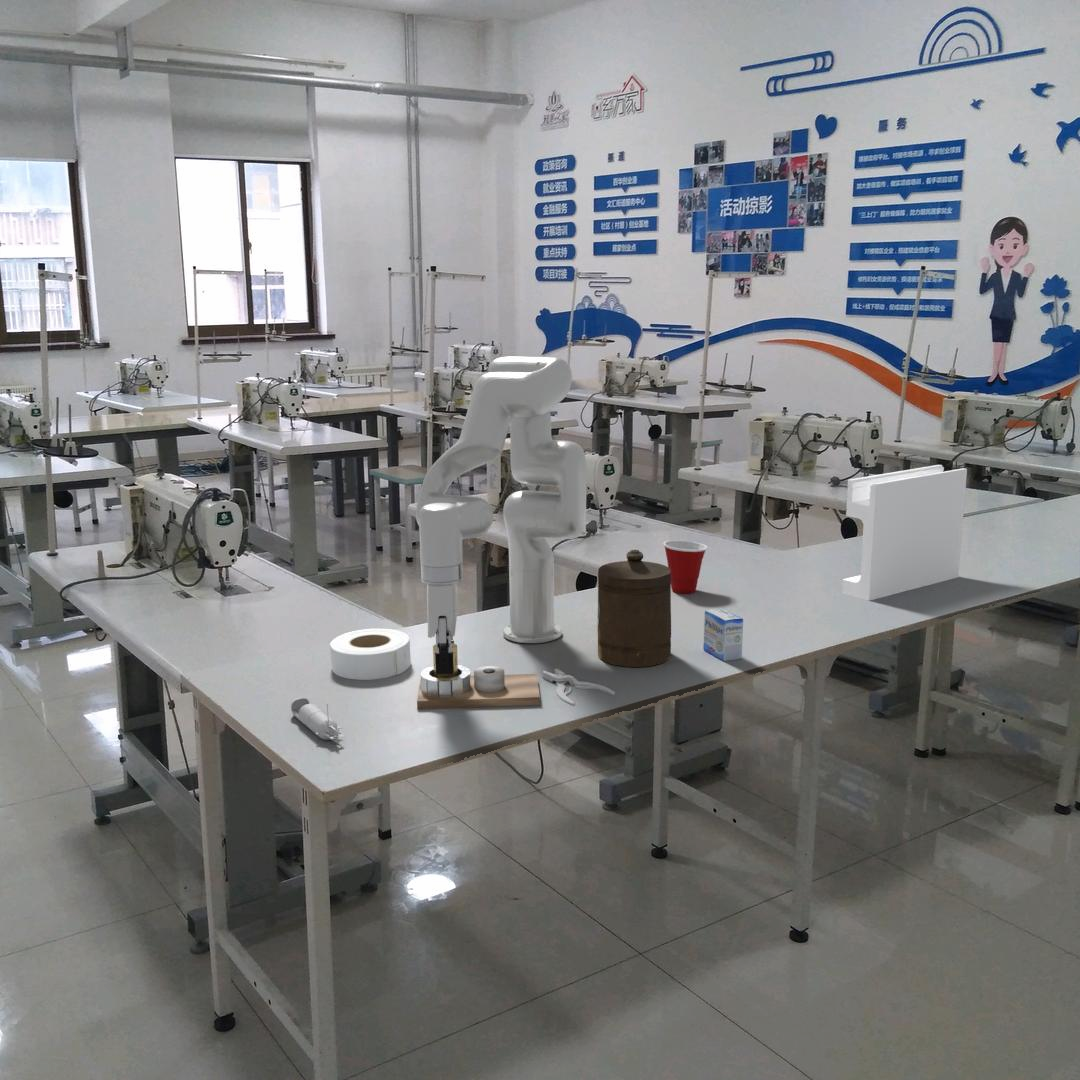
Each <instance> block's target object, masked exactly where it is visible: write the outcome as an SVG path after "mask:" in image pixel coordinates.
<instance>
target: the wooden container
mask: <svg viewBox="0 0 1080 1080" xmlns="http://www.w3.org/2000/svg"><path fill="white" fill-rule="evenodd" d="M625 556H626V559H627V560H621V561H612V562H609V563H606V564H603V565H601V566H599V568H598V571H597V572H598V574H597V583H598V584H597V585H598V586H597V624H596V625H597V626H596V627H597V656H598V658H599V659H600V660H601V661H603V662H605V663H608V664H610V665H614V666H618V667H624V668H645V667H646V668H647V667H652V666H653V667H654V666H657V665H661V664H663V663H665V662H667V661H669V659H671V654H672V653H671V652H672V649H671V648H672V641H671V640H672V608H671V607H672V603H671V602H672V600H671V599H672V598H671V597H672V596H671V595H672V593H671V590H672V588H671V571H670V569H669V568H668V565H664V564H661V563H657V562H652V561H643V559H644V553H643V552H642V551H640V550H639V549H631V550H629V551H628V552H627V553H626V555H625Z"/></svg>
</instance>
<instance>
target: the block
mask: <svg viewBox="0 0 1080 1080" xmlns="http://www.w3.org/2000/svg"><path fill="white" fill-rule="evenodd" d="M944 469H945V467H944V466H943V465H942V464H935V465H928V466H922V467H917V468H911V469H906V470H898V471H894V472H886V473H882V474H881V473H880V474H875V475H869V476H863V477H855V478H849V479H848V480H847V488H846V489H847V492H846V497H847V498H846V508H845V509H846V511H845V516H846V517H849V518H856V519H859V520H860V522H862V524H863V526H862V545H861V562H860V563H861V564H860V574H859V575H855V576H851V577H847V578H844V579H842V584H841V585H842V586H841V588H842V589H841V594H844V595H847V596H851V597H854V598H858V599H861V600H865V601H869V602H871V601H874V600H876V599H881V598H885V597H889V596H891V595H892V596H893V595H896V594H900V593H904V592H906V591H907V592H908V591H911V590H916V589H918V588H923V587H926V586H929V585H930V586H931V585H934V584H938V583H942V582H945V581H950V580H953V579H957V578H959V575H960V562H961V550H962V549H961V548H962V540H963V539H962V537H963V527H964V526H963V524H964V511H965V500H966V485H967V475H968V469H967V468H957V469H952V470H946V471H945V470H944Z"/></svg>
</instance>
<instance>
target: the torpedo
mask: <svg viewBox="0 0 1080 1080" xmlns="http://www.w3.org/2000/svg"><path fill="white" fill-rule="evenodd" d="M328 706H329V703H326V710H327V714H326V713H325V712H324V711H323V710H322V709H321V708H320V707H318V706H317V705H315V704H314V703H310V701H309V700H308V699H307V698H306V697H297V698H295V699H293V700H292V701H291V702H290V710H291V713H292V715H293V716H294V717H295V718H296V719H297V720H299V721H300V722H301V724H303V725H305V726H306V728H308V729H309V730H311V732H313V733H314V734H315V735H316V736H317V737H318V738H320V739H321V740H325V741H326V740H327V741H333V742H334V743H336V744H337V745H340V739H339V738H341V737H344V736H345V735H343V734H342V732H341V731H340V729H343V726H339V725H338V724H337V721H335V720H334V719H333V718H331V717H330V716H329V707H328Z"/></svg>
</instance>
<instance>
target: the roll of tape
mask: <svg viewBox="0 0 1080 1080" xmlns="http://www.w3.org/2000/svg"><path fill="white" fill-rule="evenodd" d="M329 649H330V650H329V651H330V661H331V671H332V672H333V673H334V675H335V676H338V677H341V678H345V679H349V680H362V681H366V680H369V681H370V680H378V679H379V680H381V679H385V678H386V679H387V678H390V677H393V676H396V675H397V676H398V675H401V674H402V673H404V672H406V671H407V670H408V669H409V668H410V667H411V665H412V664H411V663H412V662H411V661H412V660H411V659H412V658H411V641H410V636H409V635H408V634H407V633H405V632H403V631H401V630H397V629H391V628H364V629H358V630H353V631H349V632H345V633H343V634H340V635H338V636H336V637H335V638H333V639H332V640H331V642H330V643H329Z"/></svg>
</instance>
